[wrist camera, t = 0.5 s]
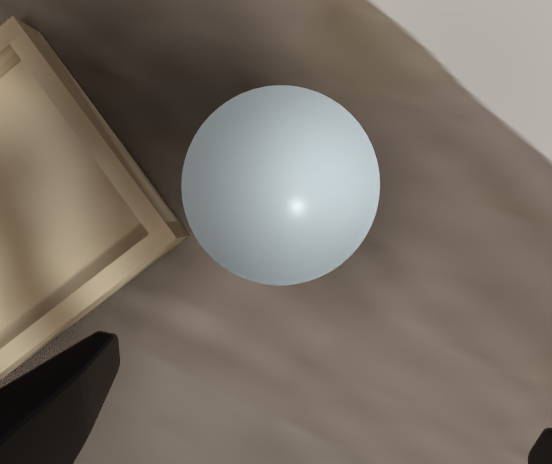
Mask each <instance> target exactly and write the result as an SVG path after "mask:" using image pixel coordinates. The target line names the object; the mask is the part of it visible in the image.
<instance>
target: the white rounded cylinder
mask: <svg viewBox="0 0 552 464" xmlns="http://www.w3.org/2000/svg"><path fill="white" fill-rule="evenodd" d="M181 190H182V201H183V206H184V211H185V214H186V217H187V220H188V223H189V225H190V228H191V230H192V232H193V234H194V236H195V237H196V239H197V240H198V242H199V243H200V245H201V246H202V247H203V249H204V250H205V251H206V252H207V253H208V255H209V256H210V257H212V258H213V259H214V260H215V261H216V262H217V263H218V264H219V265H221V266H222V267H224V268H225V269H227V270H228V271H230V272H231V273H233V274H235V275H237V276H239V277H241V278H244V279H247V280H250V281H252V282H257V283H261V284H267V285H293V284H299V283H304V282H307V281H310V280H314V279H316V278H319V277H321V276H323V275H325V274H327V273H329V272H331V271H332V270H334V269H335V268H337V267H338V266H340V265H341V264H342V263H343V262H344V261H346V260H347V259H348V258H349V257H350V256H351V255H352V254H353V253H354V252H355V251H356V250H357V248H358V247H359V246H360V244H361V243H362V241H363V240H364V239H365V237H366V235H367V233H368V231H369V229H370V227H371V225H372V223H373V220H374V217H375V215H376V211H377V207H378V202H379V193H380V174H379V168H378V163H377V158H376V155H375V152H374V149H373V147H372V144H371V142H370V140H369V138H368V136H367V134H366V133H365V131H364V130H363V128H362V127H361V125H360V124H359V123H358V122H357V120H356V119H355V118H354V117H353V116H352V115H351V114H350V113H349V112H348V111H347V110H346V109H345V108H344V107H342V106H341V105H340V104H338V103H337V102H335V101H334V100H332V99H331V98H329V97H327V96H325V95H323V94H321V93H319V92H316V91H313V90H310V89H307V88H302V87H296V86H286V85H276V86H265V87H261V88H256V89H253V90H250V91H247V92H244V93H241V94H240V95H238V96H236V97H234V98H232V99H230V100H228V101H227V102H226V103H224V104H223V105H221V106H220V107H219V108H218V109H216V110H215V111H214V112H213V113H212V114H211V115H210V116H209V117H208V118H207V119H206V121H205V122H204V123H203V124H202V125H201V127H200V128H199V130H198V131H197V133H196V134H195V136H194V138H193V140H192V142H191V144H190V146H189V148H188V151H187V154H186V157H185V161H184V166H183V171H182V182H181Z"/></svg>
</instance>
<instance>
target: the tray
mask: <svg viewBox="0 0 552 464" xmlns="http://www.w3.org/2000/svg"><path fill="white" fill-rule="evenodd" d="M189 236H190V235H189V234H188V233H187V231H186V230H185V229H184V227H183V226H182V225H181V223H180V222H179V220H178V219H177V218H176V216H175V215H174V214H173V212H172V211H171V210H170V208H169V207H168V205H167V204H166V203H165V201H164V200H163V199H162V197H161V196H160V195H159V193H158V192H157V191H156V189H155V188H154V186H153V185H152V184H151V182H150V181H149V180H148V178H147V177H146V176H145V174H144V173H143V172H142V170H141V169H140V167H139V166H138V165H137V163H136V162H135V161H134V159H133V158H132V157H131V155H130V154H129V153H128V151H127V150H126V148H125V147H124V146H123V144H122V143H121V142H120V140H119V139H118V138H117V136H116V135H115V134H114V132H113V131H112V129H111V128H110V127H109V125H108V124H107V123H106V121H105V120H104V119H103V117H102V116H101V115H100V113H99V112H98V110H97V109H96V108H95V106H94V105H93V104H92V102H91V101H90V100H89V98H88V97H87V96H86V94H85V93H84V91H83V90H82V89H81V87H80V86H79V85H78V83H77V82H76V81H75V79H74V78H73V77H72V75H71V74H70V72H69V71H68V70H67V68H66V67H65V66H64V64H63V63H62V62H61V60H60V59H59V58H58V56H57V55H56V53H55V52H54V51H53V49H52V48H51V47H50V45H49V44H48V43H47V41H46V40H45V39H44V37H43V36H42V34H41V33H39V32H38V31H36V30H35V29H33V28H32V27H30V26H28V25H27V24H25V23H24V22H22V21H21V20H19V19H17V18H16V17H14V16H12V17H10V18H9V19H8V20H7V21H6V22H5V23H4V24H2V25H1V26H0V380H2V379H3V378H4V377H6V376H7V375H8V374H9V373H11V372H12V371H13V370H15V369H16V368H17V367H19V366H20V365H21V364H23V363H24V362H25V361H26V360H28V359H29V358H30V357H32V356H33V355H34V354H36V353H37V352H38V351H40V350H41V349H42V348H43V347H45V346H46V345H47V344H49V343H50V342H51V341H53V340H54V339H55V338H57V337H58V336H59V335H60V334H62V333H63V332H64V331H66V330H67V329H68V328H70V327H71V326H72V325H74V324H75V323H76V322H77V321H79V320H80V319H81V318H83V317H84V316H85V315H87V314H88V313H89V312H91V311H92V310H93V309H95V308H96V307H97V306H98V305H100V304H101V303H102V302H104V301H105V300H106V299H108V298H109V297H110V296H112V295H113V294H114V293H115V292H117V291H118V290H119V289H121V288H122V287H123V286H125V285H126V284H127V283H129V282H130V281H131V280H132V279H134V278H135V277H136V276H138V275H139V274H140V273H142V272H143V271H144V270H146V269H147V268H148V267H149V266H151V265H152V264H153V263H155V262H156V261H157V260H159V259H160V258H161V257H163V256H164V255H165V254H166V253H168V252H169V251H170V250H172V249H173V248H174V247H176V246H177V245H178V244H180V243H181V242H182V241H183V240H185V239H186V238H187V237H189Z"/></svg>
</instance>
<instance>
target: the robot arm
mask: <svg viewBox="0 0 552 464" xmlns="http://www.w3.org/2000/svg"><path fill="white" fill-rule="evenodd" d="M119 365H120V355H119V342H118V337H117V335H116V334H113V333H108V332H104V331H98V332H95V333H93V334H92V335H90V336H88V337H86V338H85V339H83V340H81V341H80V342H78V343H76V344H74V345H73V346H71V347H69V348H68V349H66V350H64V351H63V352H61V353H59V354H57V355H56V356H54V357H52V358H51V359H49V360H47V361H45V362H44V363H42V364H40V365H39V366H37V367H35V368H34V369H32V370H30V371H28V372H27V373H25V374H23V375H22V376H20V377H18V378H16V379H15V380H13V381H11V382H10V383H8V384H6V385H5V386H3V387H1V388H0V464H73V463H74V461H75V459H76V458H77V456H78V454H79V452H80V451H81V449H82V447H83V445H84V444H85V442H86V440H87V438H88V436H89V434H90V432H91V430H92V428H93V426H94V423H95V421H96V419H97V417H98V415H99V412H100V410H101V408H102V406H103V403H104V401H105V399H106V397H107V394H108V392H109V390H110V388H111V386H112V383H113V381H114V379H115V377H116V374H117V372H118V369H119ZM528 464H552V428H546V429H544V430H543V432H542V433H541V435H540V436H539V438H538V439H537V441H536V442H535V444H534V446H533V447H532V449H531V450H530V452H529V456H528Z"/></svg>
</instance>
